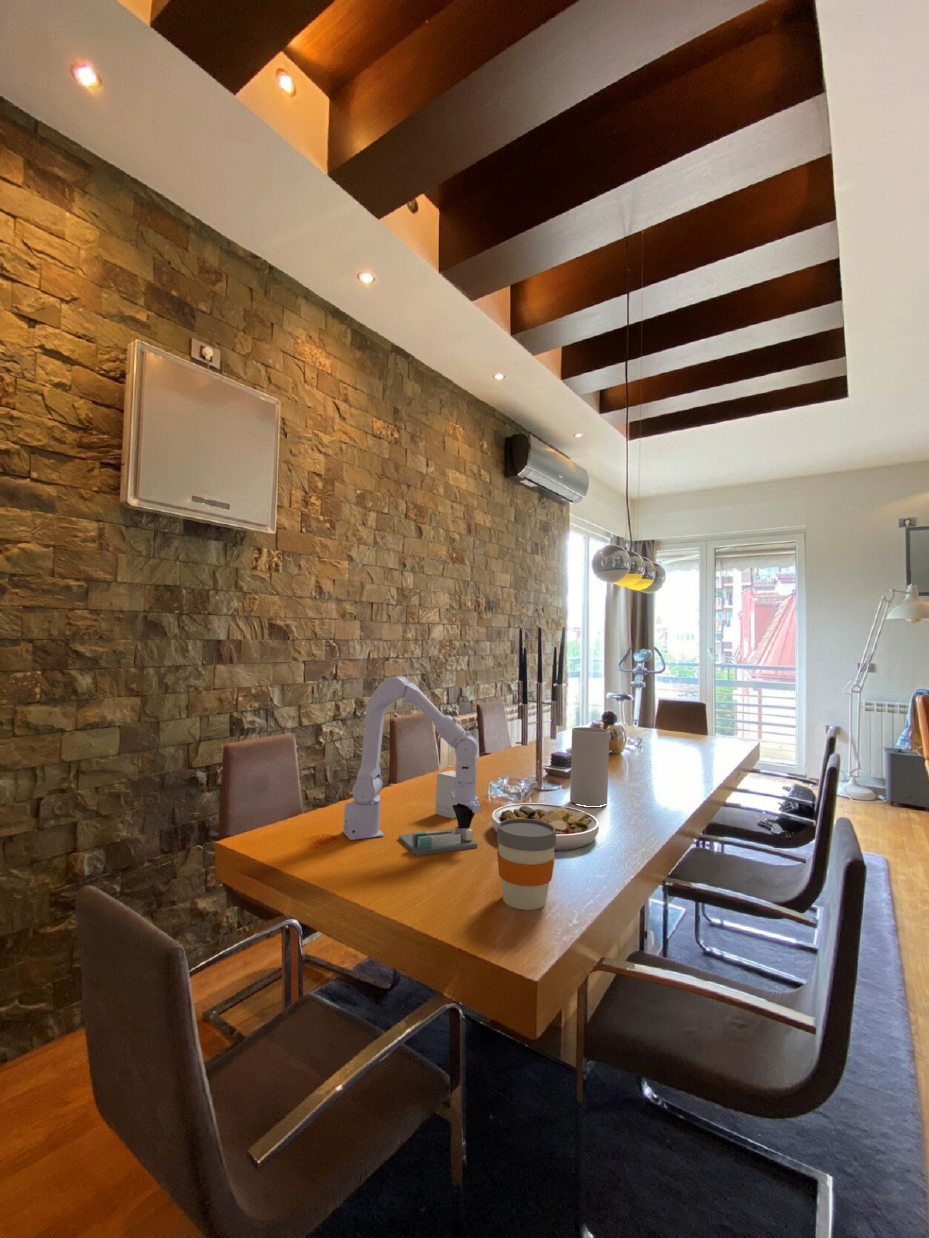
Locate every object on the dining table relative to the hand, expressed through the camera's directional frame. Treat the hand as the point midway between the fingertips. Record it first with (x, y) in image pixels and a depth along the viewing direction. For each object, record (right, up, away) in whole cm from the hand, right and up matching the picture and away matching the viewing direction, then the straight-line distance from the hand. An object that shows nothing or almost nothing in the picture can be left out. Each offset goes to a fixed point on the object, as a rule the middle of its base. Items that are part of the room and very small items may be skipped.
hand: (463, 832), depth 155 cm
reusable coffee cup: (+13, -1, -35) cm, 37 cm away
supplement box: (-4, -3, +24) cm, 25 cm away
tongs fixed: (-6, -1, -7) cm, 9 cm away
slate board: (-7, -2, -3) cm, 8 cm away
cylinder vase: (+43, -6, +42) cm, 60 cm away
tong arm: (-8, 0, -6) cm, 10 cm away
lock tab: (+1, -1, -2) cm, 2 cm away
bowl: (+23, -4, +8) cm, 24 cm away
